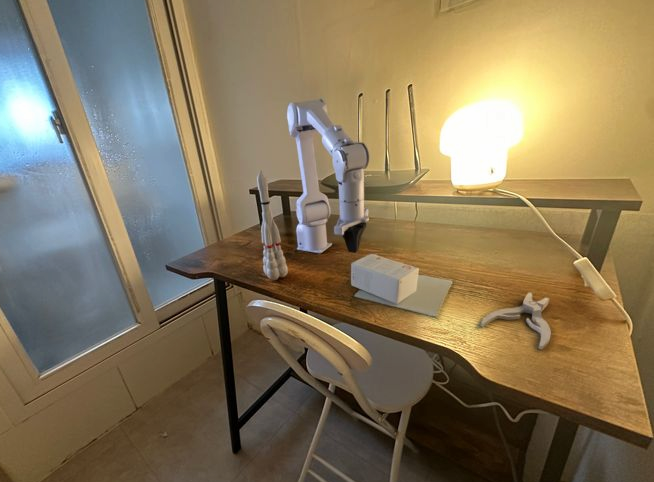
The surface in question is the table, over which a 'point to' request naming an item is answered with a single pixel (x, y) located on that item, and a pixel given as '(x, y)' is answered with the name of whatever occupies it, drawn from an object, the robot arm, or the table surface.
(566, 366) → the table surface
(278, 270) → the rocket model
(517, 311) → the pliers
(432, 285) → the mat
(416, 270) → the small box
